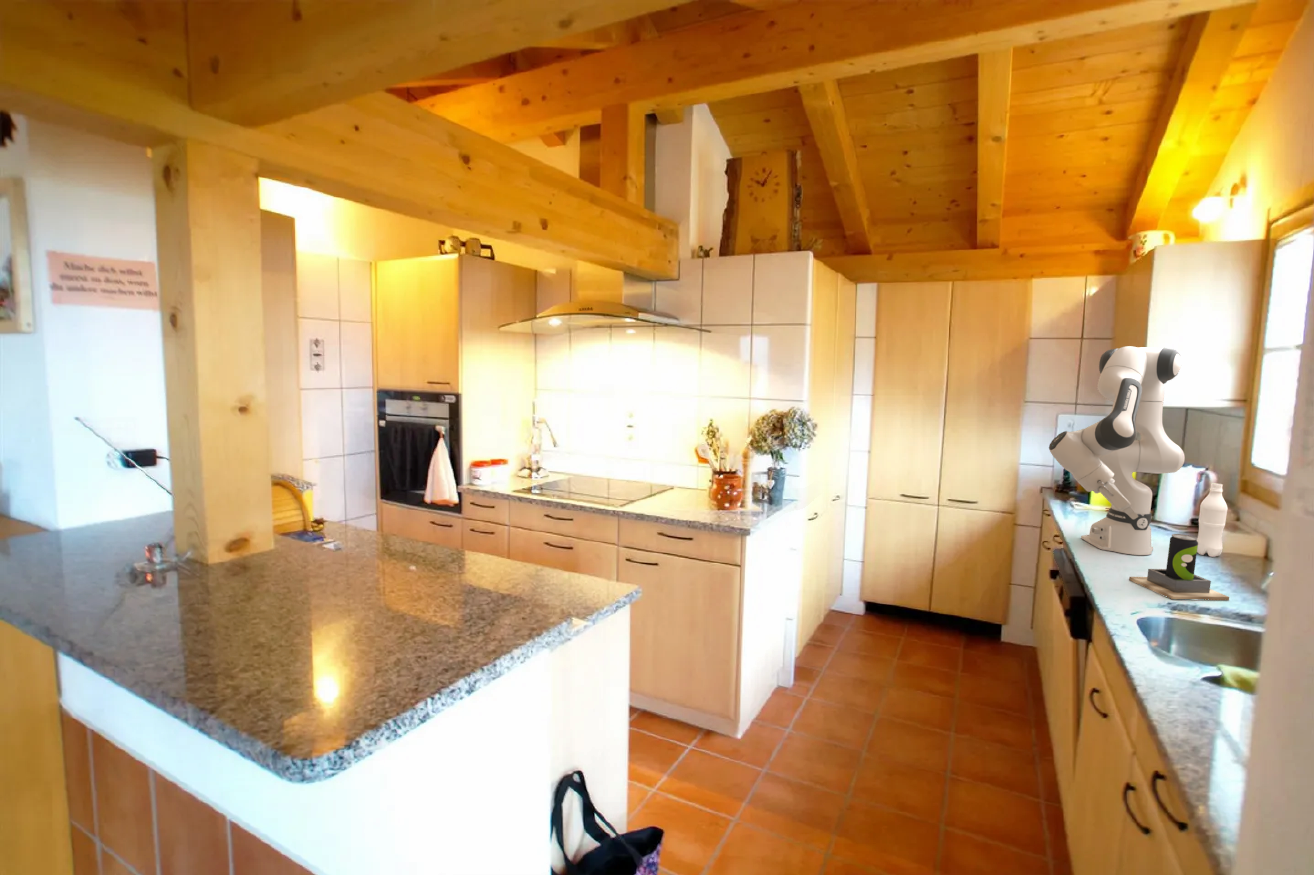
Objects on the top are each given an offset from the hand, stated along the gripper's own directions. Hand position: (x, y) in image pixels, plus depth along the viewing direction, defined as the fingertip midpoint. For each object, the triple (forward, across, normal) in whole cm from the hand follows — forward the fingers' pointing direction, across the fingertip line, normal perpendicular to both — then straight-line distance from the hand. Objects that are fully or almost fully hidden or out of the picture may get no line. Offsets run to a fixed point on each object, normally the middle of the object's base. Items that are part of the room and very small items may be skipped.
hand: (1132, 514), depth 187 cm
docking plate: (+24, 0, +6) cm, 24 cm away
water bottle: (+36, +49, -6) cm, 62 cm away
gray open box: (+24, 0, +6) cm, 24 cm away
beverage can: (+23, 0, +5) cm, 24 cm away
